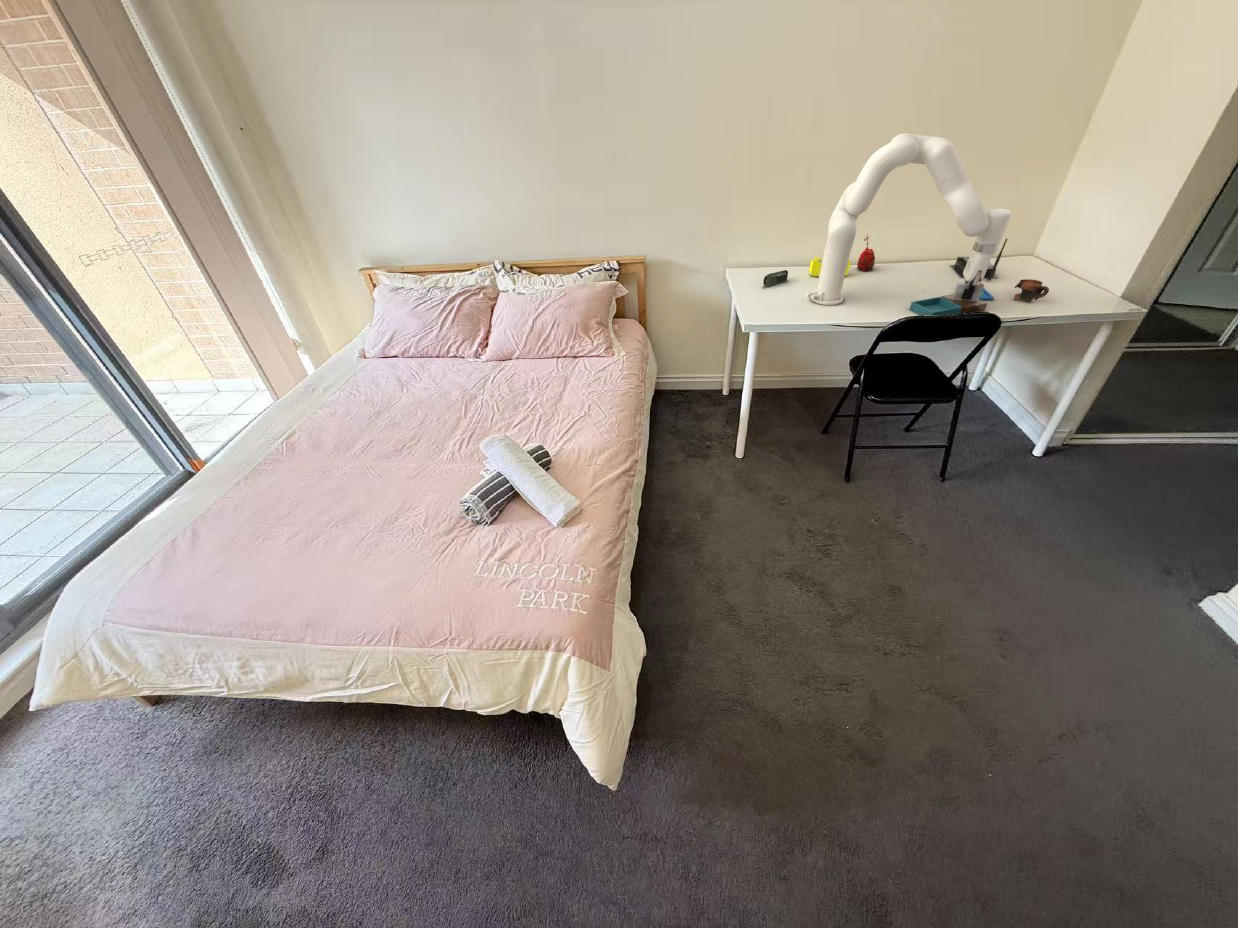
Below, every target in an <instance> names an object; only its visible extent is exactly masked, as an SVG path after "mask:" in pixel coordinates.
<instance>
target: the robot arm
mask: <svg viewBox="0 0 1238 928" xmlns="http://www.w3.org/2000/svg"><path fill="white" fill-rule="evenodd" d="M909 164H916V165H925V166H926V168H927V170H928V173H929V175H930V176H931V178H932V180H933V182H934V184H935V186H936V188H937V190H938V192H939V194H940V196H941V197H942V199H943V201H944V202H945V203H946V204H947V205H948V207H949V208H950V209H951V211H952V213H953V214H954V216H955V218H956V225H957V227H958V228H959V229H960V231H961V232H962V234H964V235H965V236H966V237H971V238H973V237H976V238H975V240H974V243H973V246H972V248H971V253H970V255H969V257H970V258H969V260H968V262H967V264H966V267H965V269H964V271H963V275H964V277H965V278H964V279H965V281H964V282H968V285H967V287H966V288H965V290H964V292H963V295H962V297H961V298H962V299H968V300H970V299H971V298H972V295H973V293H974V291H975V289H976V286H978V283H982V282H983V280H984V279H985V278H984V276H985V274H986V271H987V269H988V266H989V263H991V260H992V257H993V255H995V254H997V251H998V249H999V247H1000V244H1001V242H1002V239H1003V237H1004V235H1005V232H1006V230H1007V228H1008V225H1009V222H1010V221H1011V218H1012V215H1013V214H1012V213H1013V212H1012V211H1011V210H1009V209H1006V208H998V207H997V208H984V205H983V203H982V202H981V200H980V197H979V196H978V194H977V192H976V190H975V188H974V186H973V183H972V181H971V179H970V177H969V175H968V173H967V171H966V170H965V167H964V165H963V163H962V160H961V159H960V157H959V154H958V153H957V151H956V149H955V147H954V145H953V143H952V142H951V141H949V140H948V139H946V137H945V138H944V137H941V136H933V135H932V136H931V135H924V134H917V133H909V132H904V133H903V132H902V133H900V134H897V135H895V136H894V137H893V138H892V139H891V140H890V142H888V143H887V144H885V145H883V146H881V147H880V148H879V149H877V150H876V151H875V152H873V154H872V155H871V156H870V157H869V158H868V160H867V161H866V163H865V164H864V166H863V167H862V169H861V170H860V172H859V174H858V176H857V178H856V179H855V181H854V182H851V184H849V185H848V186H847V187H846V188H845V189H844V191H843V193H842V194H841V196H840V198H839V200H838V202H837V204H836V206H835V208H834V210H833V211H832V214H831V216H830V218H829V220H828V224H827V239H826V244H825V246H824V252H823V255H822V258H823V261H822V266H821V270H820V275H819V277H818V281H817V287H814V289H813V290H812V291H807V292H805V293H804V297H805V298H810V300H812V302H814V303H816V304H818V305H824V306H836V305H840V304H842V303H843V301H844V296H843V294H842V290H843V285H844V282H845V277H846V275H845V273H846V269H847V265H848V260H850V255H851V251H852V248H853V246H854V242H855V238H856V234H857V224H856V222H857V220H858V219H859V217H860V215H862V214H863V213H865V212H866V211H867V210H868V209H869V208H870V206H871V204H872V202H873V201H874V198H875V197H876V195H877V193H878V191H879V189H880V188H881V186H882V185H883V183H884V181H885V180H886V178H887V177H888V175H889V174H890V173H891V172H892V171H894V170H895V169H898V168H899V167H904V166H907V165H909Z"/></svg>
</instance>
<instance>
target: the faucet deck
mask: <svg viewBox="0 0 1238 928" xmlns="http://www.w3.org/2000/svg"><path fill="white" fill-rule="evenodd" d="M952 294H953V292H951V294H950V293H949V294H946V295H945V294H944V295H941V296H940V297H942V298H944V299H947V300H949V301H950V302H953V303H955V304H957V305H959V306H961V307H963V308H962V310H961V313H960V315H962V314H963V313H969V314H971V313H970V312H974V313H979V312H984V311H985V310H986V308H987V307H988V306H987V305H988V302H986V301H985V300H980V299H978V301H964V300H952V298H951V297H952Z"/></svg>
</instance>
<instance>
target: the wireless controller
mask: <svg viewBox="0 0 1238 928" xmlns="http://www.w3.org/2000/svg"><path fill="white" fill-rule="evenodd" d="M1007 241H1008V237H1007V238H1005V240H1004V241H1003V245H1002V247H1001V249H1000V251H999V253H998V254H997V258H996V259H995V262H994V264H992V263H991V262H990V263H989V266H988V269H987V271H986V274H985V276H984V278H983V279H987V281H991V280H992V279H997V278H998V277H997V276H996V275H995V274H996V271H997V267H998V264H999V263H1000V259H1001V257H1002V254H1003V251H1004V248H1005V246H1006V244H1007ZM969 258H970V256H957V258H956V260H955V263H954V264H951V265H950V267H951V268H952V269H953V270H954V272H955V273H956V274H957V275H958V276H959V277H960V278H961V279H962V278H964V279H965V277H964V275H963V271H964V269H965V267H966V264H967V262H968V260H969Z"/></svg>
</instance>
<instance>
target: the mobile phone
mask: <svg viewBox="0 0 1238 928" xmlns="http://www.w3.org/2000/svg"><path fill="white" fill-rule="evenodd" d="M788 276H789V270H787V269H784V270H779V271H775V272H770V273H767V274H766V275H764V277H763V280H762V281H763V282H762V285H763V286H762V289H764V288H767V287H771V286H774V285H778V284H779V285H780V284H783V283H786V282H787V281H788Z"/></svg>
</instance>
